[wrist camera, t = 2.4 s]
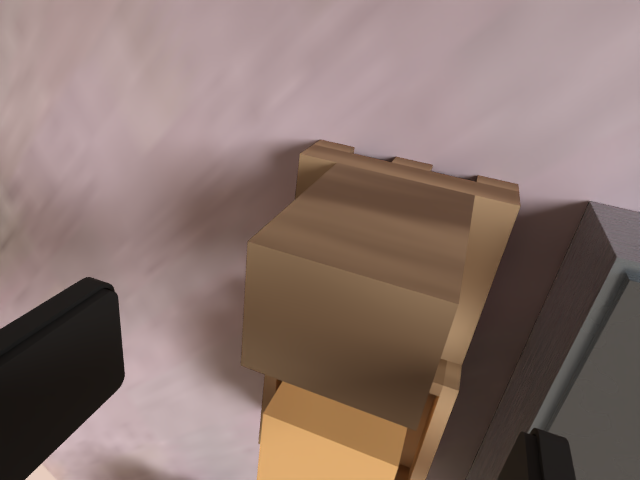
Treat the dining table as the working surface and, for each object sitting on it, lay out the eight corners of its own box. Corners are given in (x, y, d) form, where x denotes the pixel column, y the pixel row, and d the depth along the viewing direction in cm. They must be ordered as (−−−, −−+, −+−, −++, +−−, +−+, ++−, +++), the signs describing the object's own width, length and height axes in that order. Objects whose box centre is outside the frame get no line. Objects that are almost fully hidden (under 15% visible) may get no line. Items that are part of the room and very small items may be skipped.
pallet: (321, 138, 19) (193, 225, 11) (518, 183, 17) (532, 326, 9) (287, 403, 27) (196, 567, 19) (421, 454, 25) (383, 662, 17)
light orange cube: (312, 332, 21) (263, 413, 16) (420, 369, 19) (398, 467, 15) (300, 408, 23) (255, 496, 19) (397, 445, 22) (371, 549, 18)
